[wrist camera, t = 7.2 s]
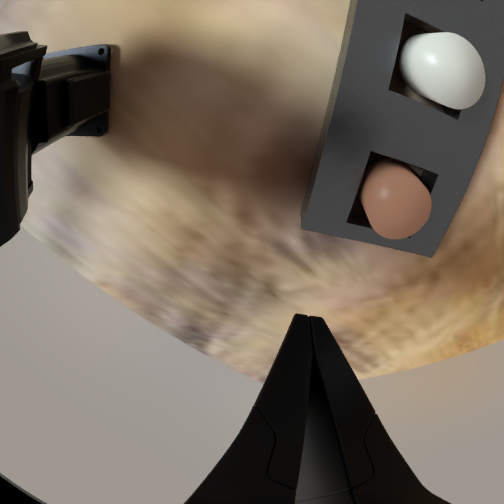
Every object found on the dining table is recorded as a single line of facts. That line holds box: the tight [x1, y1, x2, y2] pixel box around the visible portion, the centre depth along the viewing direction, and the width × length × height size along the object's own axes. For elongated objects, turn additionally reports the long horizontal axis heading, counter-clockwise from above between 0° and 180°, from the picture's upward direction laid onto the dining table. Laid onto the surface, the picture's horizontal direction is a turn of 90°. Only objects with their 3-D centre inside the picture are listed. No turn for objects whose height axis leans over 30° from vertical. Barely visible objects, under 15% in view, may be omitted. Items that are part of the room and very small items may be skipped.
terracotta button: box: [358, 159, 432, 239], centre depth 16 cm, size 4×4×3 cm
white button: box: [399, 32, 485, 109], centre depth 10 cm, size 4×4×3 cm
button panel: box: [300, 0, 504, 257], centre depth 12 cm, size 10×24×2 cm, turn 171°
